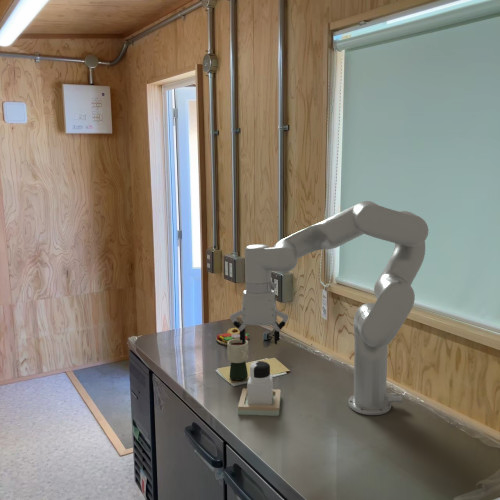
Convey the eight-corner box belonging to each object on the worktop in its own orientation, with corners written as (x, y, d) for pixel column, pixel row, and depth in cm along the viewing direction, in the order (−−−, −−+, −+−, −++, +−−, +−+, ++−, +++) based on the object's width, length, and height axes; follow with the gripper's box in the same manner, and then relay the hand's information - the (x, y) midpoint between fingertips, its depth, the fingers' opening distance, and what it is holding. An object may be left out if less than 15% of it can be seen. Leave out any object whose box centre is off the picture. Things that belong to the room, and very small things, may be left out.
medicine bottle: (273, 395, 163) (272, 359, 161) (271, 406, 156) (270, 368, 154) (250, 395, 164) (249, 358, 162) (247, 405, 157) (246, 368, 155)
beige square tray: (280, 396, 166) (280, 389, 165) (278, 415, 154) (278, 407, 153) (242, 395, 167) (242, 388, 166) (238, 414, 155) (238, 406, 155)
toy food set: (237, 333, 225) (237, 325, 224) (255, 341, 214) (255, 334, 214) (210, 339, 218) (210, 332, 217) (227, 349, 207) (227, 341, 206)
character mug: (255, 382, 177) (254, 345, 174) (235, 386, 174) (234, 349, 171) (241, 370, 186) (240, 335, 184) (223, 374, 183) (221, 338, 181)
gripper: (288, 283, 156) (289, 338, 160) (230, 283, 158) (232, 337, 161) (287, 290, 149) (288, 347, 152) (227, 290, 151) (229, 346, 154)
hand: (259, 342), depth 157 cm, fingers open, 9 cm apart
